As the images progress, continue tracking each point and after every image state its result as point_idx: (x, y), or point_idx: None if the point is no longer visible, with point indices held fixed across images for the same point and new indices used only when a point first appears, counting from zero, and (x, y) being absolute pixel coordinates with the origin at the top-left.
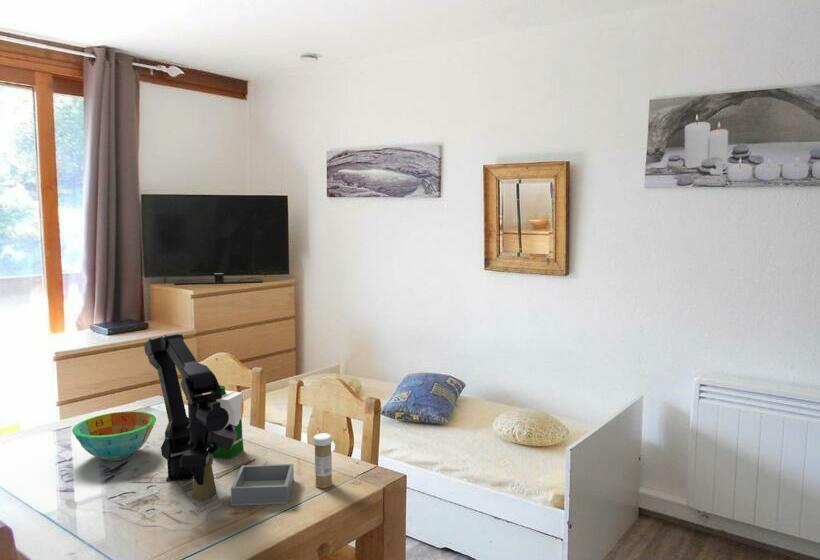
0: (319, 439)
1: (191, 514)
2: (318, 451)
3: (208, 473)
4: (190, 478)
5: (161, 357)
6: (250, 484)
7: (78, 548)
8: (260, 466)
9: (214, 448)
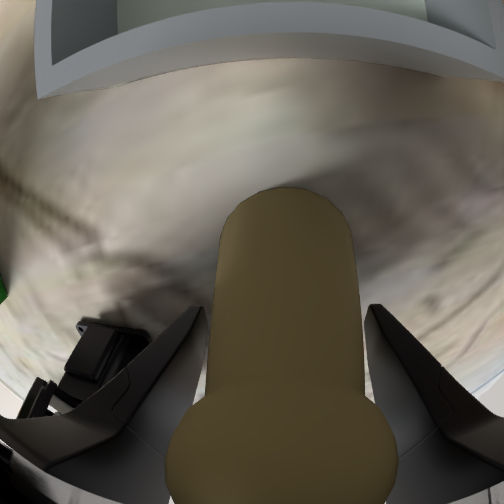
0: None
1: (467, 256)
2: None
3: (347, 331)
4: (142, 334)
5: None
6: (164, 10)
7: (474, 396)
8: None
9: (74, 478)
